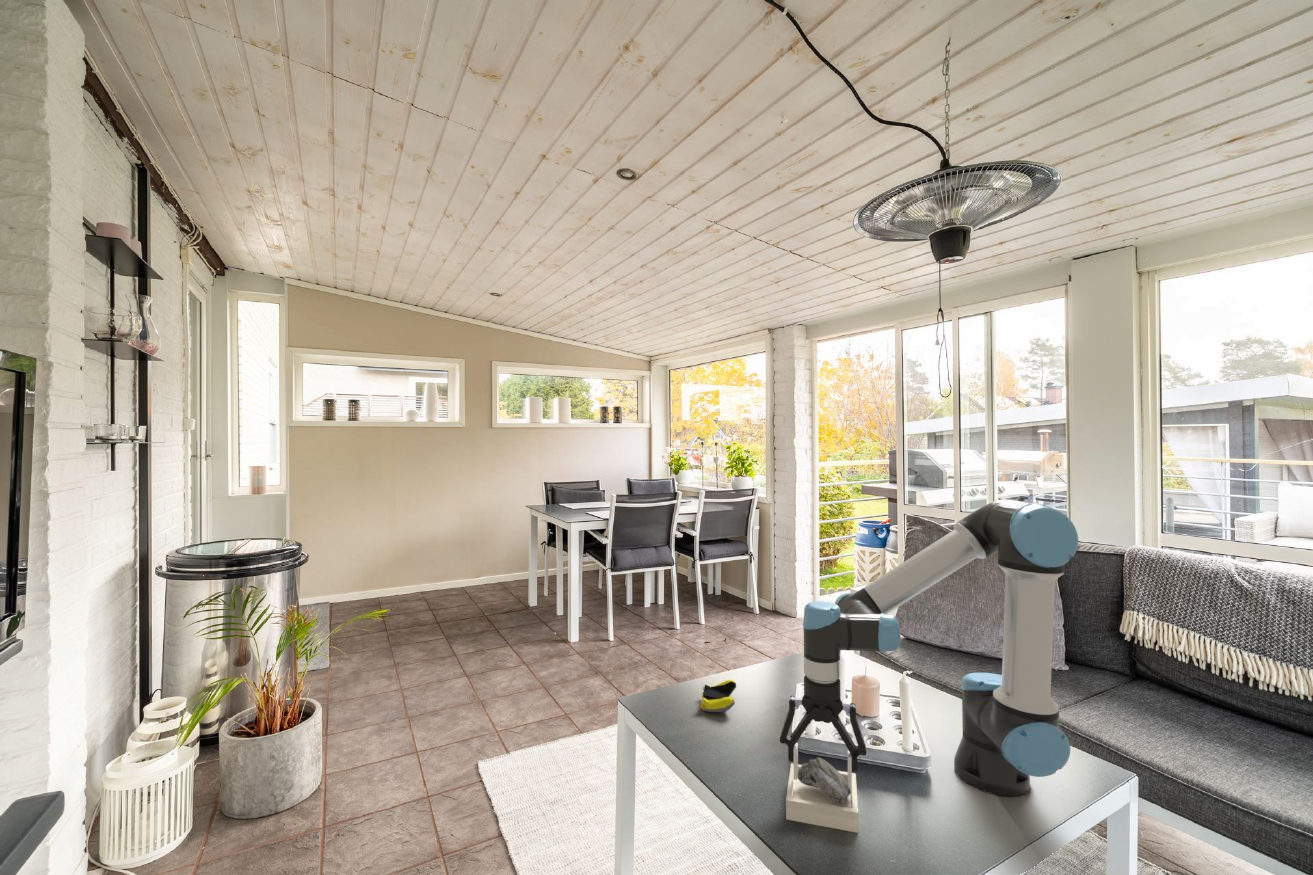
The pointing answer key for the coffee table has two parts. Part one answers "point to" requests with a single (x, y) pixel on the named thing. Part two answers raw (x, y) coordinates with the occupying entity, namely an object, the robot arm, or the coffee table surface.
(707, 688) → the yellow black shoe
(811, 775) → the grey rock
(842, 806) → the small open wooden box
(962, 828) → the coffee table surface
